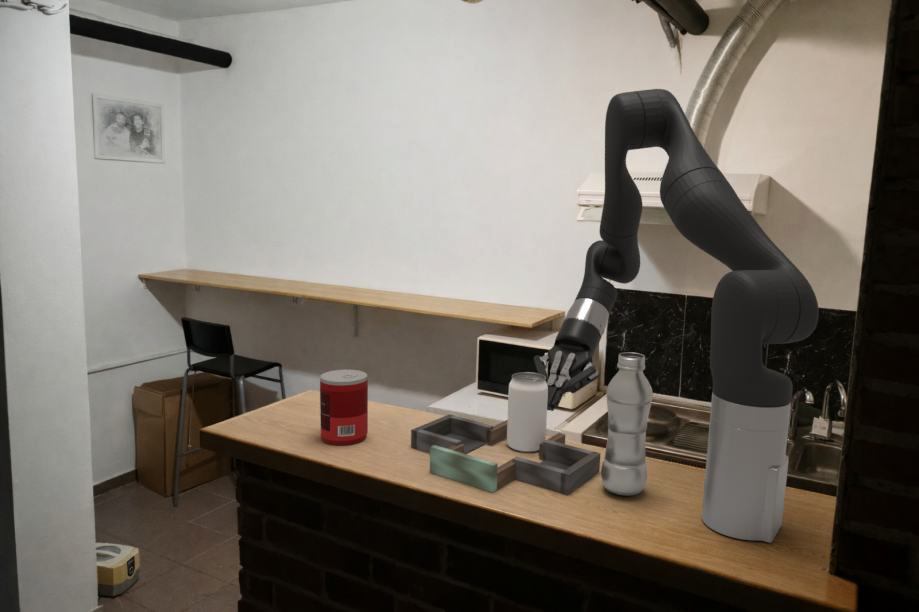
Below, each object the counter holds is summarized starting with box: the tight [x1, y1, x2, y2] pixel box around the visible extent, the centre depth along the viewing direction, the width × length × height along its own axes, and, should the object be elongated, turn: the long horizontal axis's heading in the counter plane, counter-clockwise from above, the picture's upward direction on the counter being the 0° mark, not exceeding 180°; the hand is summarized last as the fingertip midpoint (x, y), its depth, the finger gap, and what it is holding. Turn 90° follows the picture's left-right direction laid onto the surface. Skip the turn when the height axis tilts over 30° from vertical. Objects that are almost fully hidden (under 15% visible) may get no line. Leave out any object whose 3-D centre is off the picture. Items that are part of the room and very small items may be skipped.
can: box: [506, 371, 548, 453], centre depth 116 cm, size 6×6×12 cm
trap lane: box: [410, 413, 602, 496], centre depth 110 cm, size 29×22×4 cm
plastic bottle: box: [600, 351, 654, 496], centre depth 98 cm, size 6×7×20 cm
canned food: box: [319, 369, 369, 446], centre depth 118 cm, size 8×8×11 cm
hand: (547, 407), depth 122 cm, fingers closed
